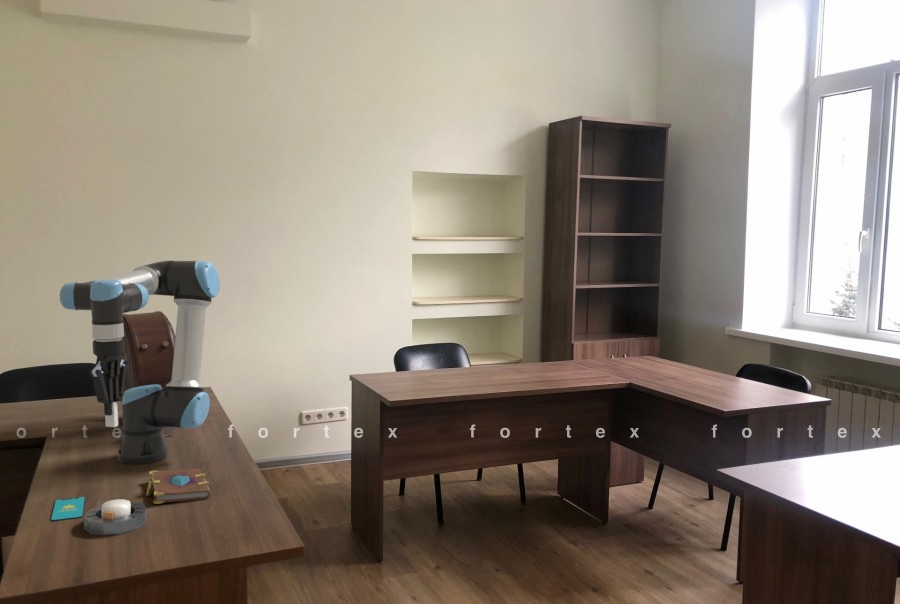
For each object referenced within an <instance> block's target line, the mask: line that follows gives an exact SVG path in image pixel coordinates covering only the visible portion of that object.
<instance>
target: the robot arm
mask: <svg viewBox="0 0 900 604" xmlns="http://www.w3.org/2000/svg"><path fill="white" fill-rule="evenodd" d="M220 281H221V280H220V276H219V273H218V270H217V268H216V267H215V266H214V264H213V263H212V262H208V261H199V260H162V261H157V262H153V263H148V264H144V265H139V266H137V267H135V268H134V269H133V270H132V271H129V272H125V273H121V274H116V275H112V276H108V277H103V278H99V279H96V280H92V281H91V280H90V281H86V282H77V281H76V282H67V283H65V284H63V285H62V286H61V289H60V291H59V302H60V305H61V306H62V307H63V308H64V309H66V310H73V311H90V312H91V326H92V328H91V329H92V330H91V331H92V339H93V340H92V354H93V355H94V356H96V361H95V366H94V368H91V369H89V370H88V371H89V374H90V377H92V383H93V386H94V391H95V394H96V400H97V402H98V403H100V404H103V411H104V417H105V418H104V419H105V427H108V428H116V427H118V426H119V413H118V412H119V402H121V400H122V399H121V398H120V397H123V400H122V404H121V408H122V410H121V411H122V438H121V441H120V444H119V447H118V450H117V461H118V462H119V463H122V464H130V465H139V464H140V465H142V464H149V463H150V464H151V463H154V462H159V461H162V460H164V459H166V458H167V457H168V456H169V448H168V446H167V443H166V440H165V439H166V438H165V437H164V436H163V434H162V427H171V428H174V429H197V428H199V427H200V426H202V424H204V422H205V420H206V419H207V417H208V414H209V410H210V406H211V400H210V396H209V394H208V393H207V392H206V391H204V389H205V385H203V384H202V382H201V381H200V378H201V369H202V367H201V366H202V356H203V355H202V354H203V346H204V345H203V343H204V333H205V332H204V331H205V322H206V309H207V308H208V307H209V306H210V305H211V304H212V298H213V299H214V298H216V297H217V296H218V295H219V292H220V286H221V284H220V283H221V282H220ZM152 295H153V296H154V295H157V296H169V297H173V302H174V303H175V304H176V306H177V314H176V315H177V316H176V326H175V346H174V357H173V368H172V379H171V381H170V382H169V383H168V384H166V389H165V391H162V388H161V385H146V386H140V387H135V388H131V389H128V390H126V391H125V392H124V385H125V376H126V369H127V366H128V361H124V360H122V356H121V354H122V353H124V340H123V339H122V337H124V325H123V314H127V313H129V312H136V311H138V310H140V309H143V308H144V307H145V306H146V305H147V304H148V302H149V299H150V298H149V297H150V296H152ZM165 457H166V458H165ZM161 459H162V460H161ZM158 460H159V461H158Z"/></svg>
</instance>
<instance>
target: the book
mask: <svg viewBox="0 0 900 604" xmlns="http://www.w3.org/2000/svg"><path fill="white" fill-rule="evenodd" d="M148 475H149V476H151V478H149V480H148V481H149V482H148V483H147V488H146V489H147V490H146V493H145V496H148V497H149V496H151V495H152V494H153V498H154V499H153V504H156V505H159V504H163V503H173V502H185V501H198V500H207V499H209V498H210V496H211V492H210V488H209V485H210V483H209V481H207V480H206V476H207V475H206V473H203V472H202V470H201V469H200V468H193V469H192V468H191V469H189V468H188V469H179V470H177V469H176V470H161V471H160V470H151V471H148Z"/></svg>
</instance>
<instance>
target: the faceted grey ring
mask: <svg viewBox="0 0 900 604" xmlns="http://www.w3.org/2000/svg"><path fill="white" fill-rule="evenodd" d="M130 503H131V515H129V516H126V517H122V518H117V519H102V504H101V505H98V506H95V507H93V508H91V509H89V510H87V511H86V512H85V514H84V517H83V530H84V531H85V532H87V533H88V534H90V535H96V536H113V535H121V534H125V533H129V532H133V531H136V530H137V529H140V528H142V527H143V526H144V525H146V523H147V518H148V507H147V506H146V505H145V504H143V503H142V502H138V501H137V502H135V501H130Z"/></svg>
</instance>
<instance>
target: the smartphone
mask: <svg viewBox="0 0 900 604" xmlns="http://www.w3.org/2000/svg"><path fill="white" fill-rule="evenodd" d="M85 501H86V497H85V496H79V497H72V498H71V497H70V498H63V499H62V498H61V499H56V500H55V501H54V504H53V509H52V513H51V518H50V522H60V521H66V520H74V519H81V518H84V517H83V515H84V508H85V504H86V502H85Z"/></svg>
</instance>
